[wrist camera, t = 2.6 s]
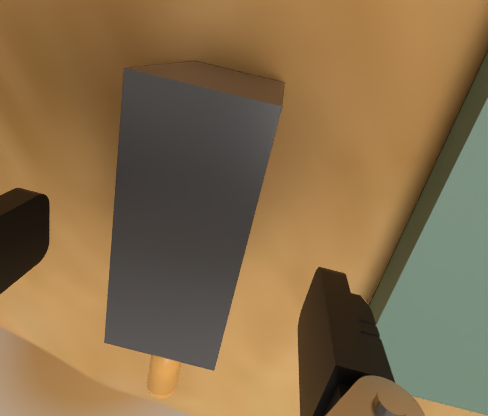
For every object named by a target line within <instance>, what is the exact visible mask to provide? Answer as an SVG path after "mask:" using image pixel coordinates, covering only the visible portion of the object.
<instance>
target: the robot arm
mask: <svg viewBox="0 0 488 416" xmlns="http://www.w3.org/2000/svg"><path fill="white" fill-rule="evenodd" d="M48 246H49V199H48V197H47V196H46V195H44V194H41V193H37V192H33V191H29V190H25V189H22V188H15V189H13V190H11V191H9V192H7V193H4V194H2V195H0V294H1V293H2V292H3V291H5V290H6V289H7V288H8V287H10V286H11V285H12V284H13V283H15V282H16V281H17V280H18V279H19V278H21V277H22V276H23V275H24V274H26V273H27V272H28V271H29V270H31V269H32V268H33V267H34V266H35V265H37V264H38V263H39V262H40V261H41V260H42V259H43V257H44V256H45V254H46V252H47V249H48ZM298 355H299V389H300V416H425V414H424V412H423V410H422V409H421V407H420V405H419V404H418V403H417V401H416V400H415V399H414V398H413V397H412V396H411V395H410V394H409V393H408V392H407V391H406V390H405V389H403V388H402V387H401V386H399V385H398V384H396V383H395V380H394V377H393V374H392V371H391V368H390V365H389V362H388V359H387V356H386V353H385V350H384V346H383V343H382V340H381V339H380V334H379V331H378V328H377V327H376V322H375V319H374V316H373V313H372V310H371V308H370V307H369V306H368V305H367V303H366V302H365V301H364V300H363V299H362V297H361V296H360V295H356V294H352V293H351V292H350V289H349V285H348V281H347V277H346V274H344V273H341V272H337V271H333V270H330V269H326V268H322V267H318V269H317V270H316V272H315V275H314V277H313V280H312V283H311V285H310V288H309V291H308V294H307V296H306V299H305V302H304V304H303V307H302V310H301V313H300V318H299V323H298Z"/></svg>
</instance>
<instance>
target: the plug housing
mask: <svg viewBox="0 0 488 416" xmlns="http://www.w3.org/2000/svg"><path fill="white" fill-rule="evenodd" d="M284 84H285V83H284V82H280V81H275V80H271V79H267V78H263V77H259V76H255V75H251V74H247V73H243V72H238V71H234V70H230V69H226V68H222V67H218V66H214V65H210V64H206V63H201V62H197V61H189V62H179V63H169V64H159V65H149V66H138V67H128V68H124V75H123V89H122V103H121V117H120V131H119V145H118V159H117V173H116V187H115V201H114V215H113V229H112V243H111V257H110V271H109V285H108V299H107V313H106V327H105V340H104V343H108V344H112V345H115V346H119V347H123V348H127V349H131V350H135V351H139V352H143V353H147V354H151V361H150V367H149V374H148V381H147V387H148V390H149V392H150V394H151V395H152V396H153V397H155V398H158V399H163V398H167V397H168V396H170V395H171V394H172V393H173V392H174V391H175V389H176V386H177V382H178V377H179V372H180V367H181V362H182V363H186V364H190V365H194V366H198V367H202V368H206V369H209V370H213V371H214V369H215V365H216V362H217V358H218V354H219V350H220V346H221V342H222V338H223V334H224V330H225V327H226V323H227V319H228V315H229V311H230V307H231V303H232V299H233V296H234V292H235V288H236V284H237V280H238V276H239V272H240V268H241V264H242V261H243V257H244V253H245V249H246V245H247V241H248V237H249V233H250V230H251V226H252V222H253V218H254V214H255V210H256V206H257V202H258V198H259V195H260V191H261V187H262V183H263V179H264V175H265V171H266V167H267V164H268V160H269V156H270V152H271V148H272V144H273V140H274V136H275V132H276V129H277V125H278V121H279V117H280V113H281V109H282V104H283V94H284Z"/></svg>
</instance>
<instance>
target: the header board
mask: <svg viewBox="0 0 488 416" xmlns="http://www.w3.org/2000/svg"><path fill="white" fill-rule="evenodd" d="M369 307H370V308H371V310H372V313H373V316H374V319H375V322H376V327H377V328H378V331H379V334H380V339H381V340H382V343H383V346H384V350H385V353H386V356H387V359H388V362H389V365H390V368H391V371H392V374H393V377H394V380H395V383H396V384H398V385H399V386H401V387H402V388H403V389H405V390H406V391H407V392H408V393H409V394H410V395H411V396H414V397H418V398H422V399H426V400H430V401H434V402H438V403H441V404H445V405H449V406H453V407H457V408H461V409H465V410H469V411H473V412H477V413H481V414H485V415H488V52H487V54H486V56H485V58H484V60H483V63H482V65H481V67H480V69H479V71H478V73H477V75H476V78H475V80H474V82H473V84H472V86H471V88H470V90H469V93H468V95H467V97H466V99H465V101H464V103H463V106H462V108H461V110H460V112H459V114H458V116H457V118H456V121H455V123H454V125H453V127H452V129H451V131H450V133H449V136H448V138H447V140H446V142H445V144H444V146H443V148H442V151H441V153H440V155H439V157H438V159H437V161H436V164H435V166H434V168H433V170H432V172H431V174H430V176H429V179H428V181H427V183H426V185H425V187H424V189H423V191H422V194H421V196H420V198H419V200H418V202H417V204H416V207H415V209H414V211H413V213H412V215H411V217H410V219H409V222H408V224H407V226H406V228H405V230H404V232H403V234H402V237H401V239H400V241H399V243H398V245H397V247H396V249H395V252H394V254H393V256H392V258H391V260H390V262H389V265H388V267H387V269H386V271H385V273H384V275H383V277H382V280H381V282H380V284H379V286H378V288H377V290H376V292H375V295H374V297H373V299H372V301H371V303H370V305H369Z"/></svg>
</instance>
